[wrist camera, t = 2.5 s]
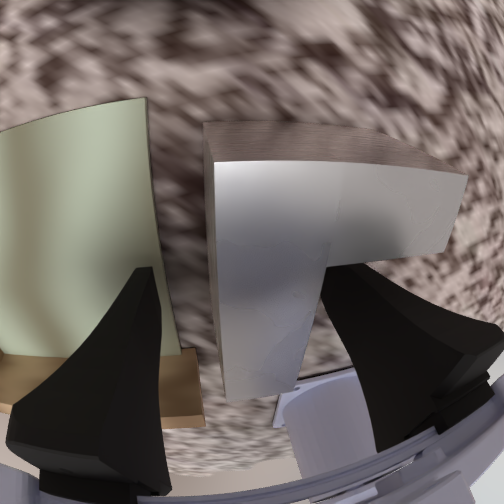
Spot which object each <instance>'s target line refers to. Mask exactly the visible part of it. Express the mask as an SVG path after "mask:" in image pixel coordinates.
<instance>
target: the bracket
mask: <svg viewBox="0 0 504 504" xmlns="http://www.w3.org/2000/svg"><path fill="white" fill-rule="evenodd" d="M203 168H204V197H205V219H206V238H207V255H208V270H209V284H210V297H211V308H212V315H213V322H214V329H215V336H216V342H217V349H218V355H219V362H220V368H221V374H222V380H223V386H224V392H225V397H226V402H234V401H241V400H248V399H255V398H261V397H267V396H273V395H278V394H284V393H289V392H293V390H294V387H295V384H296V381H297V378H298V374H299V371H300V368H301V364H302V361H303V357H304V354H305V350H306V347H307V343H308V339H309V336H310V332H311V328H312V324H313V321H314V317H315V313H316V309H317V305H318V301H319V297H320V292H321V288H322V284H323V280H324V275H325V271H326V267H330V266H339V265H347V264H356V263H364V262H372V261H380V260H388V259H396V258H404V257H412V256H419V255H427V254H434V253H441V252H444V250H445V247H446V245H447V242H448V239H449V237H450V234H451V231H452V228H453V226H454V223H455V220H456V217H457V214H458V211H459V208H460V204H461V201H462V198H463V194H464V191H465V187H466V184H467V180H468V175H466V174H465V173H463V172H461V171H459V170H458V169H456V168H454V167H452V166H450V165H448V164H447V163H445V162H443V161H441V160H439V159H437V158H435V157H433V156H431V155H429V154H427V153H425V152H423V151H421V150H419V149H417V148H414V147H412V146H410V145H408V144H406V143H403V142H401V141H399V140H397V139H394V138H392V137H390V136H387V135H385V134H382V133H380V132H377V131H375V130H372V129H364V128H357V127H349V126H339V125H329V124H318V123H304V122H285V121H210V122H203Z"/></svg>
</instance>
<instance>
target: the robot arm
mask: <svg viewBox="0 0 504 504" xmlns="http://www.w3.org/2000/svg"><path fill="white" fill-rule="evenodd" d="M320 295H321V298H322V301H323V304H324V307H325V309H326V312H327V314H328V316H329V318H330V320H331V322H332V324H333V325H334V327H335V329H336V331H337V333H338V335H339V337H340V339H341V341H342V342H343V344H344V346H345V348H346V350H347V352H348V354H349V356H350V358H351V360H352V363H353V365H354V367H353V368H350V369H346V370H342V371H338V372H334V373H330V374H326V375H322V376H318V377H313V378H309V379H304V380H299V381H296V384H295V387H294V390H293V392H289V393H284V394H280V396H279V400H278V404H277V408H276V412H275V416H274V420H273V427H274V428H280V427H285V426H286V428H287V431H288V435H289V438H290V441H291V444H292V448H293V451H294V454H295V457H296V460H297V464H298V467H299V470H300V473H301V476H302V479H301V480H297V481H293V482H289V483H284V484H280V485H275V486H270V487H265V488H259V489H254V490H247V491H241V492H234V493H225V494H215V495H203V496H185V497H184V496H181V497H154V496H166V495H167V494H168V493H169V492H170V491H171V490H172V486H171V482H170V477H169V472H168V467H167V461H166V455H165V449H164V442H163V435H162V427H161V417H160V406H159V367H160V353H161V340H162V309H161V304H160V300H159V295H158V291H157V286H156V282H155V277H154V272H153V267H152V266H150V267H138V268H135V270H134V271H133V273H132V274H131V276H130V277H129V279H128V280H127V282H126V284H125V285H124V287H123V288H122V290H121V291H120V293H119V294H118V296H117V297H116V299H115V300H114V302H113V303H112V305H111V306H110V308H109V309H108V311H107V312H106V314H105V315H104V316H103V318H102V319H101V320H100V322H99V323H98V325H97V326H96V327H95V328H94V330H93V331H92V332H91V334H90V335H89V336H88V337H87V338H86V340H85V341H84V342H83V343H82V344H81V345H80V347H79V348H78V349H77V350H76V351H75V352H74V353H73V354H72V355H71V356H70V357H69V358H68V359H67V360H66V361H65V362H64V363H63V364H62V365H61V366H60V367H59V368H58V369H57V370H56V371H55V372H54V373H53V374H52V375H50V376H49V377H48V378H47V379H46V380H45V381H43V382H42V383H41V384H40V385H39V386H37V387H36V388H35V389H34V390H32V391H31V392H30V393H28V394H27V395H26V396H24V397H23V398H21V399H20V400H19V401H17V402H16V403H15V404H13V406H12V410H11V414H10V419H9V424H8V430H7V435H6V446H7V447H8V449H10V450H11V451H12V452H13V453H14V454H16V455H17V456H19V457H20V458H22V459H23V460H25V461H27V462H28V463H30V464H32V465H33V466H35V467H37V468H39V469H40V475H39V479H38V478H36V477H34V476H33V475H31V474H29V473H26V472H24V471H21V470H19V469H15V468H13V467H10V466H7V465H4V464H1V463H0V504H290V503H294V502H298V501H301V500H305V499H309V501H310V503H316V502H319V503H316V504H475V500H474V497H473V495H472V493H471V490H470V487H471V486H472V485H473V484H474V483H475V482H476V481H477V480H478V479H479V478H480V477H481V476H482V475H483V474H484V472H485V471H486V470H487V469H488V468H489V467H490V466H491V465H492V464H493V462H494V461H495V460H496V459H497V458H498V457H499V455H500V454H501V453H502V452H503V450H504V374H503V375H502V376H501V377H499V378H498V379H497V380H496V381H495V382H494V383H493V384H492V385H491V386H490V385H489V384H488V382H487V380H488V379H489V378H490V375H489V373H488V372H487V370H488V369H489V368H490V366H491V365H492V364H493V363H494V362H495V360H496V359H497V358H498V357H499V355H500V354H501V353H502V352H503V350H504V332H503V331H502V330H501V328H500V327H499V326H498V325H496V324H492V323H488V322H484V321H480V320H475V319H472V318H469V317H466V316H463V315H460V314H457V313H454V312H451V311H449V310H446V309H444V308H442V307H439V306H437V305H435V304H432V303H430V302H428V301H426V300H424V299H422V298H420V297H418V296H416V295H414V294H412V293H411V292H409V291H407V290H405V289H404V288H402V287H400V286H399V285H397V284H395V283H394V282H392V281H390V280H389V279H387V278H386V277H384V276H382V275H381V274H379V273H378V272H376V271H375V270H373V269H372V268H370V267H369V266H367V265H366V264H364V263H356V264H347V265H339V266H330V267H326V271H325V275H324V280H323V284H322V288H321V292H320ZM411 462H412V463H411ZM409 463H410V464H409ZM407 464H408V465H407ZM405 465H407V466H405ZM403 466H405V467H403ZM402 467H403V468H402ZM400 468H401V469H400ZM398 469H399V470H398ZM396 470H398V471H396ZM394 471H396V472H394ZM392 472H393V473H392ZM390 473H391V474H390ZM388 474H389V475H388ZM386 475H387V476H386ZM384 476H385V477H384ZM382 477H383V478H382ZM333 497H334V498H333ZM330 498H331V499H330ZM327 499H328V500H327ZM323 500H325V501H323ZM320 501H322V502H320Z"/></svg>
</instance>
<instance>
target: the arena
mask: <svg viewBox="0 0 504 504" xmlns="http://www.w3.org/2000/svg"><path fill="white" fill-rule="evenodd" d="M150 266H152V267H153V272H154V277H155V282H156V286H157V291H158V295H159V300H160V304H161V309H162V340H161V353H160V367H159V406H160V417H161V427H162V429H175V428H191V427H204V426H206V423H205V416H204V409H203V401H202V393H201V384H200V375H199V366H198V360H197V354H196V349H195V348H187V349H181V346H180V341H179V337H178V333H177V328H176V324H175V319H174V314H173V310H172V305H171V300H170V295H169V290H168V284H167V279H166V274H165V268H164V262H163V256H162V250H161V244H160V237H159V230H158V223H157V216H156V208H155V200H154V191H153V182H152V172H151V161H150V149H149V136H148V119H147V97H144V98H136V99H129V100H123V101H116V102H110V103H105V104H100V105H94V106H90V107H85V108H80V109H76V110H72V111H67V112H63V113H59V114H56V115H52V116H48V117H45V118H41V119H38V120H35V121H31V122H28V123H25V124H22V125H19V126H16V127H13V128H10V129H8V130H5V131H2V132H0V412H2V413H6V414H11V410H12V406H13V404H15V403H16V402H17V401H19V400H20V399H21V398H23V397H24V396H26V395H27V394H28V393H30V392H31V391H32V390H34V389H35V388H36V387H37V386H39V385H40V384H41V383H42V382H43V381H45V380H46V379H47V378H48V377H49V376H50V375H52V374H53V373H54V372H55V371H56V370H57V369H58V368H59V367H60V366H61V365H62V364H63V363H64V362H65V361H66V360H67V359H68V358H69V357H70V356H71V355H72V354H73V353H74V352H75V351H76V350H77V349H78V348H79V347H80V345H81V344H82V343H83V342H84V341H85V340H86V338H87V337H88V336H89V335H90V334H91V332H92V331H93V330H94V328H95V327H96V326H97V325H98V323H99V322H100V320H101V319H102V318H103V316H104V315H105V314H106V312H107V311H108V309H109V308H110V306H111V305H112V303H113V302H114V300H115V299H116V297H117V296H118V294H119V293H120V291H121V290H122V288H123V287H124V285H125V284H126V282H127V280H128V279H129V277H130V276H131V274H132V273H133V271H134V270H135V268H138V267H150Z"/></svg>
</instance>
